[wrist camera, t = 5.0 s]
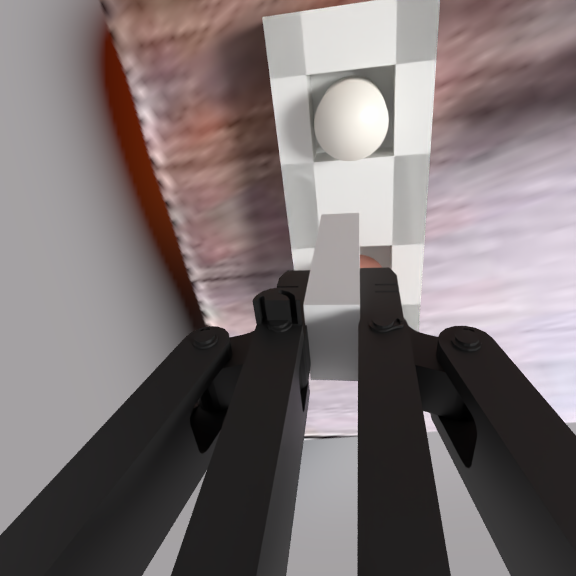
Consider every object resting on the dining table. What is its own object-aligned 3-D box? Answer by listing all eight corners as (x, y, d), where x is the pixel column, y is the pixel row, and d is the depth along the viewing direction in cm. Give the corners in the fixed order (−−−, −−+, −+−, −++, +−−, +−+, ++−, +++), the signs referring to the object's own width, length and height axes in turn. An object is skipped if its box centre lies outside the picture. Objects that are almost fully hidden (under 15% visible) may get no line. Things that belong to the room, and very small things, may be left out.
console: (274, 18, 27) (262, 17, 24) (430, -5, 26) (440, -10, 22) (307, 310, 40) (302, 335, 37) (413, 309, 38) (418, 336, 35)
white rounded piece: (317, 79, 27) (311, 87, 24) (385, 71, 26) (389, 78, 23) (322, 146, 30) (317, 163, 26) (384, 141, 29) (388, 158, 25)
